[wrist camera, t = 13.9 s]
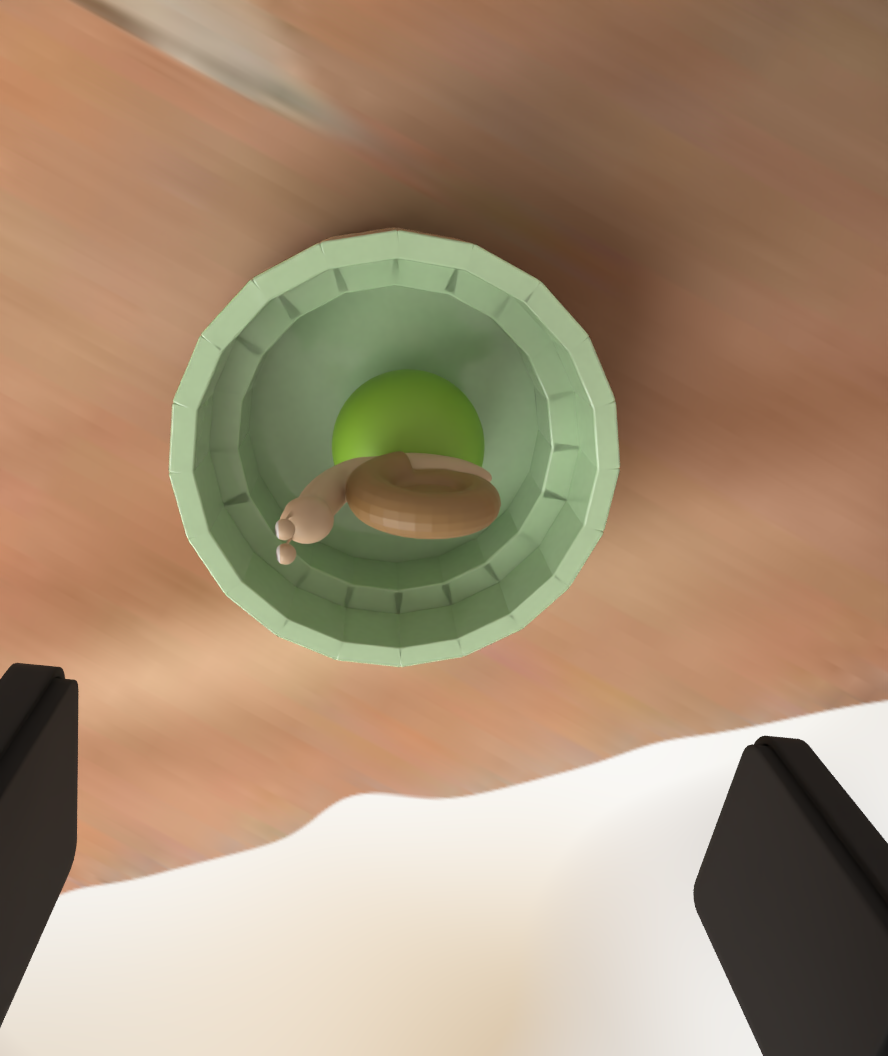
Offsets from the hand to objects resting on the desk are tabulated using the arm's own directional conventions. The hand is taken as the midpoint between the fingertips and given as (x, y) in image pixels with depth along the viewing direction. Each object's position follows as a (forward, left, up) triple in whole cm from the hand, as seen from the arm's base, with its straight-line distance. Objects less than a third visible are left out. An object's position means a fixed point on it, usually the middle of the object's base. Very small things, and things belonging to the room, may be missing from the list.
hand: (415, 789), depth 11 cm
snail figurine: (0, 0, -22) cm, 22 cm away
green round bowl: (0, 0, -22) cm, 22 cm away
